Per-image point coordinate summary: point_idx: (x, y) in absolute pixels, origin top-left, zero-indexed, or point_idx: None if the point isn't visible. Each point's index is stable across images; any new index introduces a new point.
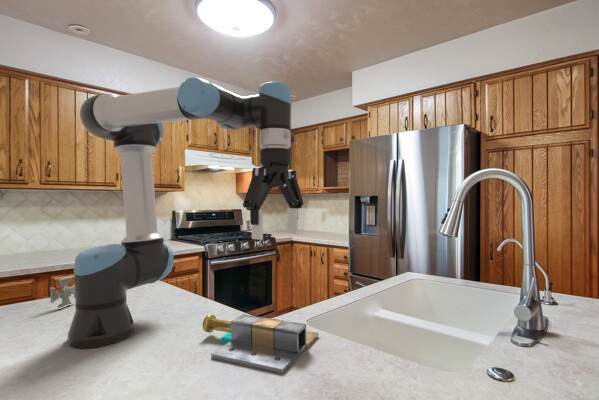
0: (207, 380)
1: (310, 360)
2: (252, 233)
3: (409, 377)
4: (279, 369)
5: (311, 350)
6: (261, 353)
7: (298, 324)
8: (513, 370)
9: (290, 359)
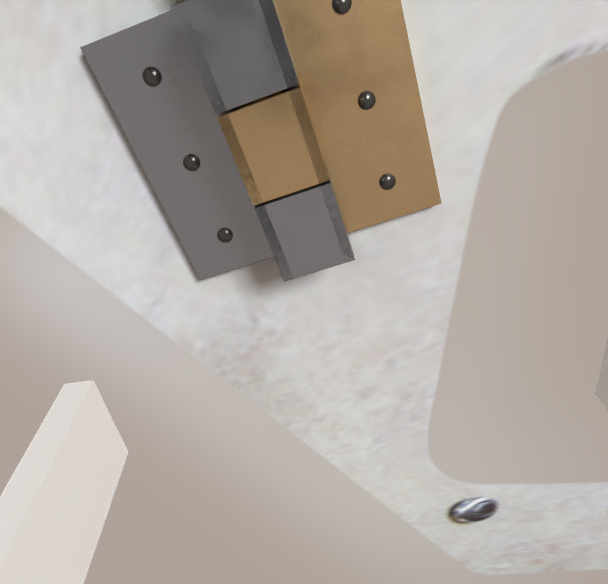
0: (31, 161)
1: None
2: (47, 427)
3: (371, 436)
4: (197, 271)
5: None
6: (211, 177)
7: (334, 244)
8: (497, 518)
9: (248, 260)
